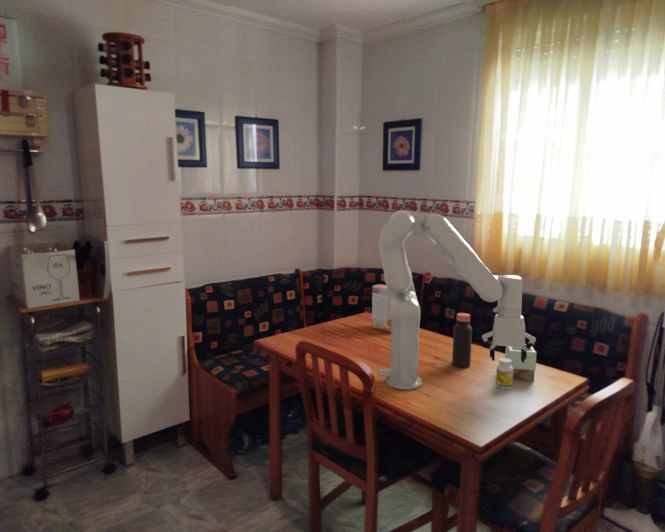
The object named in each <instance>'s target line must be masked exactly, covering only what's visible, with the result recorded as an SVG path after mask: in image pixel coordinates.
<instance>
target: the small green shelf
mask: <svg viewBox="0 0 665 532" xmlns="http://www.w3.org/2000/svg"><path fill="white" fill-rule="evenodd" d="M526 344H527V343H525V345H526ZM521 349H522V347H514V346H505V352H504V353H505V354H504V355H505V356H504V358H507V359H510V360H511V361H512V362H511V363H512V364H511V366H512V367H513V369H525V370H535V371H536V367H537V351H536V350H535V349H534V347H533V346H532V347H531V348H529V349H528V351H527V355H526V359H524V362H522V361H521Z"/></svg>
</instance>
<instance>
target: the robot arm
mask: <svg viewBox="0 0 665 532" xmlns="http://www.w3.org/2000/svg"><path fill="white" fill-rule="evenodd" d="M410 236H413V237H424V238H428V239H429V241H430V242H431V243H432V244H433V245H434V247H435V248H436V249H437V250H438V251H439V252H440V254H442V256H443V257H444V258H445V260H446V261H447V262H448V263H449V264H450V265H451V266H452V267H453V268H454V269H455V271H457V272H458V273H459V274H460V275H461V276H462V277H463V278H464V279H465V281H467V283H468V284H469V286H470V287H472V289H473V290H474V292H475V293H476V294H478V296H479V297H480V298H481V300H482V301H485V302H487V303H494V302H497V307H494V308H493V309H492V311H493V313H496V314H495V316H494V321H493V325H492V326H493V327H492V330H491V331H489V332H487V333H484V334H482V335H481V339H482V340H483V342H484V345H486V346H487V348H489V358H491V361H492V362H494V361H495V358H496V357H495V354H496V352H495V347H497V346H499V347H500V346H501V347H506V346H514V347H522V349H521V361H522V362H524V359H526V355H527V351H528V349H529V348H531V347H533V345H534V344H535V342H536V341H537V339H536V337H535V336H534V335H533V336H532V335H531V334H529V333H528V332H526V323H525V318H524V316H523V315H522V304H523V303H522V302H523V279H522V277H521V276H519V275H516V274H504V275H498V274H497V275H495V274H493V273H492V272H491V271H490V269H489V268H488V267H487V265H485V264H484V263H483V261H482V260H481V259H480V258H479V256H478V255H477V254H476V252H475V251H474V250H473V248H472V247H471V245H469V243H467V241H466V240H465V239H464V238H463V237H462V236H461V234H460V233H459V232H458V231H457V229H456V228H455V227H454V226H453V225H452V224H451V223H450V221H449V220H448V219H447V218H446V217H445V216H443V215H441V214H439V213H432V212H430V213H429V212H420V211H412V210H404V209H403V210H401V209H400V210H397V211H395V212H393V213H392V214H391V216H390V217H389V221H387V223H386V224H385V225H384V226H383V227H382V230H381V232H380V234H379V238H378V248H379V255H380V261H381V265H382V268H383V275H384V282H385V285H387V289H388V293H389V297H390V301H391V311H392V312H391V316H392V320H391V332H390V366H389V368H386V369H384V368H377V369H378V370H377V374H378V375H379V376H380V377H385V383H386V384H387V385H388V386H389V387H391V388H393V389H396V390H403V391H410V390H417V389H418V388H420V387H421V386H422V385H423V380H422V378H421V377H420V376H419V375H418V373H419V372H418V371H419V346H420V344H419V343H420V341H419V340H420V339H419V337H420V322H421V306H420V304H419V300H418V297H417V294H416V293H417V292H416V289H415V284H414V281H413V275H412V270H411V268H410V267H409V266H410V265H409V263H408V257H407V251H406V247H405V243H406V240H407V239H408V238H409V237H410ZM491 337H492V341H491V342H490V341H489V340H488V338H491ZM526 338H527V339H528V340H529V341H528V342H527V343H526ZM525 344H526V345H525Z"/></svg>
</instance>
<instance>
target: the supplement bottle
mask: <svg viewBox="0 0 665 532" xmlns="http://www.w3.org/2000/svg"><path fill="white" fill-rule="evenodd" d="M511 362H512V361H511V360H510V359H507V358H505V357H501V358H499V359H498V364H497V365H496V372H495V373H496V376H495V386H496V387H497V388H499V389H503V390H510V389H512V388H513V382H514V380H513V367H512V366H511V364H512V363H511Z"/></svg>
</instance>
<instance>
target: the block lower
mask: <svg viewBox="0 0 665 532" xmlns="http://www.w3.org/2000/svg"><path fill="white" fill-rule="evenodd" d="M535 371H536V369H535V370H525V369H513V381H521V382H522V381H523V382H532V383H533V382H535Z"/></svg>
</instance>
